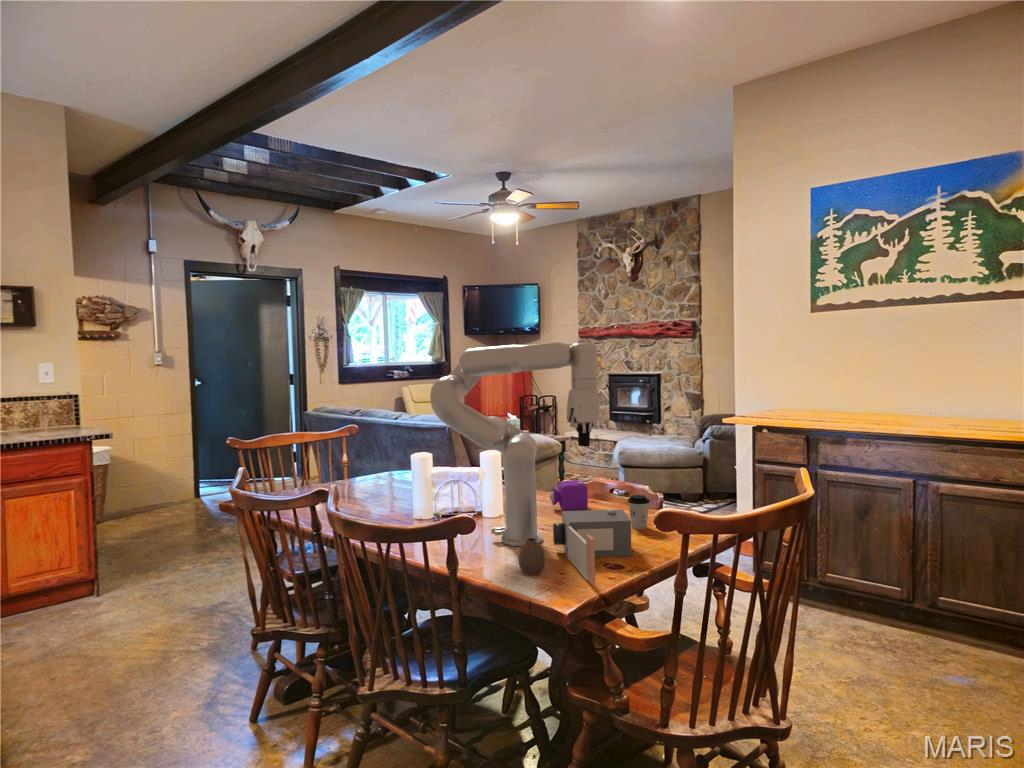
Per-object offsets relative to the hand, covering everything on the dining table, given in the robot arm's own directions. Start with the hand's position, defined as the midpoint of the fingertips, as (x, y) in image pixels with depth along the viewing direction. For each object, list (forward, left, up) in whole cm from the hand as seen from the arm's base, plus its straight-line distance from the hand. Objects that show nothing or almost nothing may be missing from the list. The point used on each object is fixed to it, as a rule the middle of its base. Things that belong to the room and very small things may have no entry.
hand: (584, 445), depth 181 cm
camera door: (-5, -26, -29) cm, 39 cm away
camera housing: (0, -9, -29) cm, 30 cm away
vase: (-17, -25, -29) cm, 42 cm away
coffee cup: (+19, +12, -29) cm, 37 cm away
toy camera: (-1, +38, -29) cm, 48 cm away
